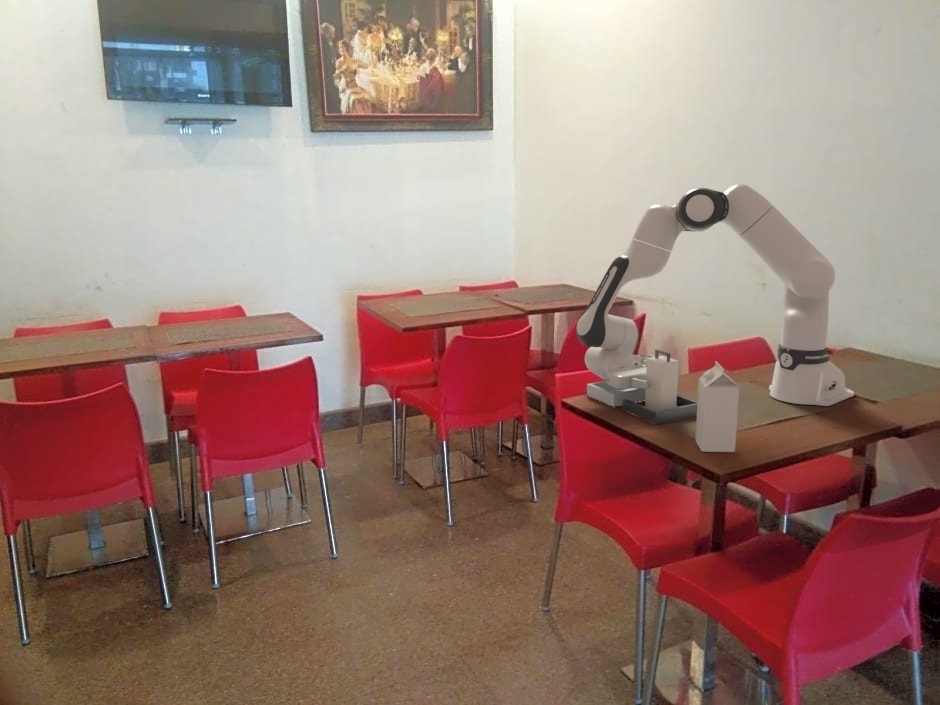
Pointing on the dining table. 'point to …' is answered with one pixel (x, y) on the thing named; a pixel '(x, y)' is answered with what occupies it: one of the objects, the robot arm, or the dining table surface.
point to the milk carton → (717, 411)
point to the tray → (614, 393)
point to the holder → (657, 417)
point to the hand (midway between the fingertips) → (662, 382)
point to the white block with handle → (661, 382)
